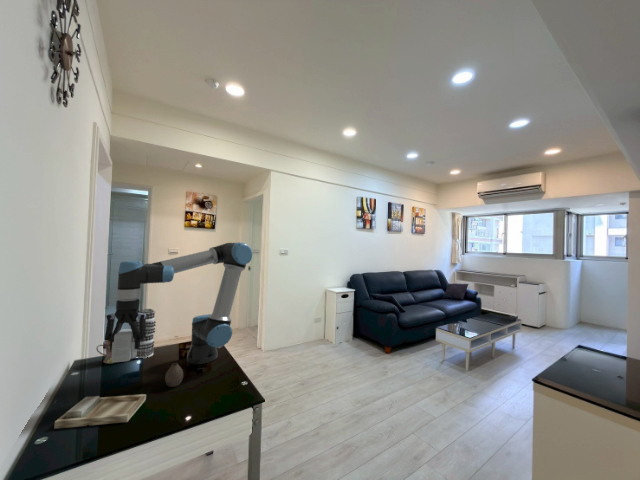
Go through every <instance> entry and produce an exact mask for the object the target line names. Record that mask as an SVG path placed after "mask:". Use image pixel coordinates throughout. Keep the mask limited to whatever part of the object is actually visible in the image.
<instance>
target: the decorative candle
mask: <svg viewBox="0 0 640 480" xmlns="http://www.w3.org/2000/svg"><path fill="white" fill-rule="evenodd" d="M139 312H140V313H142V314H145V313H146V314H147V316H146V319H145V320H146V337H145V338H143V339H142V340H140V347H139V348H138V349H137V356H136V357H138V358H143V359H147V357H148V358H150V357H152V356H153V355H154V352H155V351H154V350H155V347H154V346H155V344H154V343H155V341H154V334H155V332H156V328H155V327H156V323H157V321H155V319H156V317H155V313H156V311H155V310H154V309H153V308H144V309H141V310H139ZM136 320H137V326H138V329H139V320H140V319H139V316H138V317H137V319H136Z"/></svg>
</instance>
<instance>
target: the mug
mask: <svg viewBox="0 0 640 480" xmlns="http://www.w3.org/2000/svg"><path fill="white" fill-rule="evenodd" d="M100 346H101V347H103V348H104V349H105V353H102V352H100V351H99V349H98V348H99V347H100ZM96 351H97V352H98V353H99V354H100V355H103V358H104V359H103V361H102V362H103V363H105V364H110V365H111V364H117V362H114V363H113V359H111V355H112V350H110V341H108V340H104V341H103V344H98V346H96Z"/></svg>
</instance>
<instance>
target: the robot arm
mask: <svg viewBox="0 0 640 480" xmlns="http://www.w3.org/2000/svg"><path fill="white" fill-rule="evenodd" d="M252 259H253V251H252V248H251V247H250V245H249V244H247V243H245V242H240V241H239V242H226V243H223V244H220V245H216V246H213V247H210V248H208V250H204V251H199V252H196V253H191V254H187V255H183V256H182V255H181V256H179V257H178V256H177V257H173V258H169V259H165V260H160V261H156V262H151V263H144V264H143V261H139V260H138V261H137V260H124V261H121V262H120V263H119V268H118V272H117V273H118V275H117V276H118V277H117V291H116V303H115V305H116V306H115V310H116V311H114V312H115V313H109V314H108V315H106V320H107V321H106V329H105V334H104V341H106V340H108V341H110V350H112V355H111V359H113V348H114V335H115V334H117V333H118V332H119V331H120V330H121V329H123V325H124V324H125V323H126V324H128V325H129V326H130V329H131V330H132V333H133V337H134V341H133V342H132V351H131V359H134V358H135V357H136V356H137V349H138V348H139V347H140V340H142V339H143V338H145V337H146V320H145V319H146V316H147V314H146V313H145V314H142V313H140V310H139V309H140V301H141V300H140V297H141V285H142V284H143V285H145V284H159V283H160V284H162V283H163V284H164V283H165V284H166V283H172V281H173V280H174V276H175V274H177V273H181V272H184V271H189V270H192V269H193V270H194V269H197V268H199V267H203V266H208V265H210V264H213V265H217V264H222V265H223V266H224V270H223V275H222V278H221V281H220V285H219V289H218V292H217V296H216V300H215V303H214V307H213V311H212V313H211V314H209V313H208V314H202V315H200V314H199V315H196V316H194V317H193V318H192V323H191V343H190V348H189V350H188V353H187V355H186V362H187V363H189V364H190V365H191V364H192V365H202V364H204V365H205V364H208V363H210V362H213V361H215V360H217V358H218V349H217V348H222V347H224V346H225V345H227V344H228V343H229V341H230V340H231V338H232V336H233V329H232V327H231V324H232V318H231V317H230V315H231V311H232V308H233V304H234V301H235V298H236V293H237V290H238V286H239V282H240V278H241V274H242V272H243V271H244V270H245V269H246V267H247V264H249V263H250V262H251V261H252ZM138 316H139V319H140V320H139V329H138V326H137V322H138V321H137V320H138ZM115 319H117V321H115ZM115 322H116V323H115ZM114 325H115V327H114Z"/></svg>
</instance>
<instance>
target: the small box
mask: <svg viewBox="0 0 640 480" xmlns="http://www.w3.org/2000/svg"><path fill="white" fill-rule="evenodd" d="M133 341H134V337H133V333H132V330H131V328H124V329H123V328H121V330H120V331H119V332H118V333H117V334H115V335H114V348H113V363H112V364H115V363H114V362H116V363H120V362H121V363H122V362H123V363H124V362H129V361H130V360H131V359H132V358H131V351H132V342H133Z"/></svg>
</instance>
